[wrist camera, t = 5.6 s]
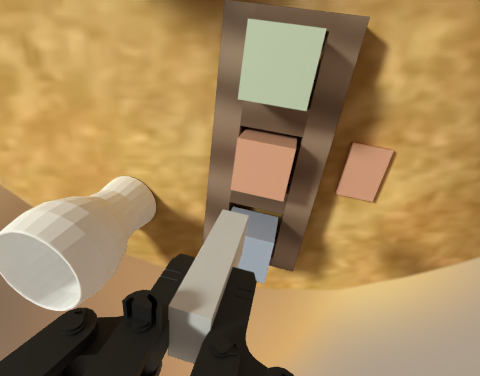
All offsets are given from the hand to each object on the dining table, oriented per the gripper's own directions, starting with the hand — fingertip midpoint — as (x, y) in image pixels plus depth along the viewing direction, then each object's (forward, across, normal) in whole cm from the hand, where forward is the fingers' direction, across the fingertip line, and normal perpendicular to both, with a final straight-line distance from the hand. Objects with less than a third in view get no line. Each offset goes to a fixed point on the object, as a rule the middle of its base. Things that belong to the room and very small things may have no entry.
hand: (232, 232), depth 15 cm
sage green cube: (+14, 0, +9) cm, 16 cm away
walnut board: (+17, 0, 0) cm, 17 cm away
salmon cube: (+16, 0, 0) cm, 16 cm away
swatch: (+17, +11, 0) cm, 20 cm away
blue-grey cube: (+14, 0, -9) cm, 17 cm away
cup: (+17, -18, -11) cm, 27 cm away
